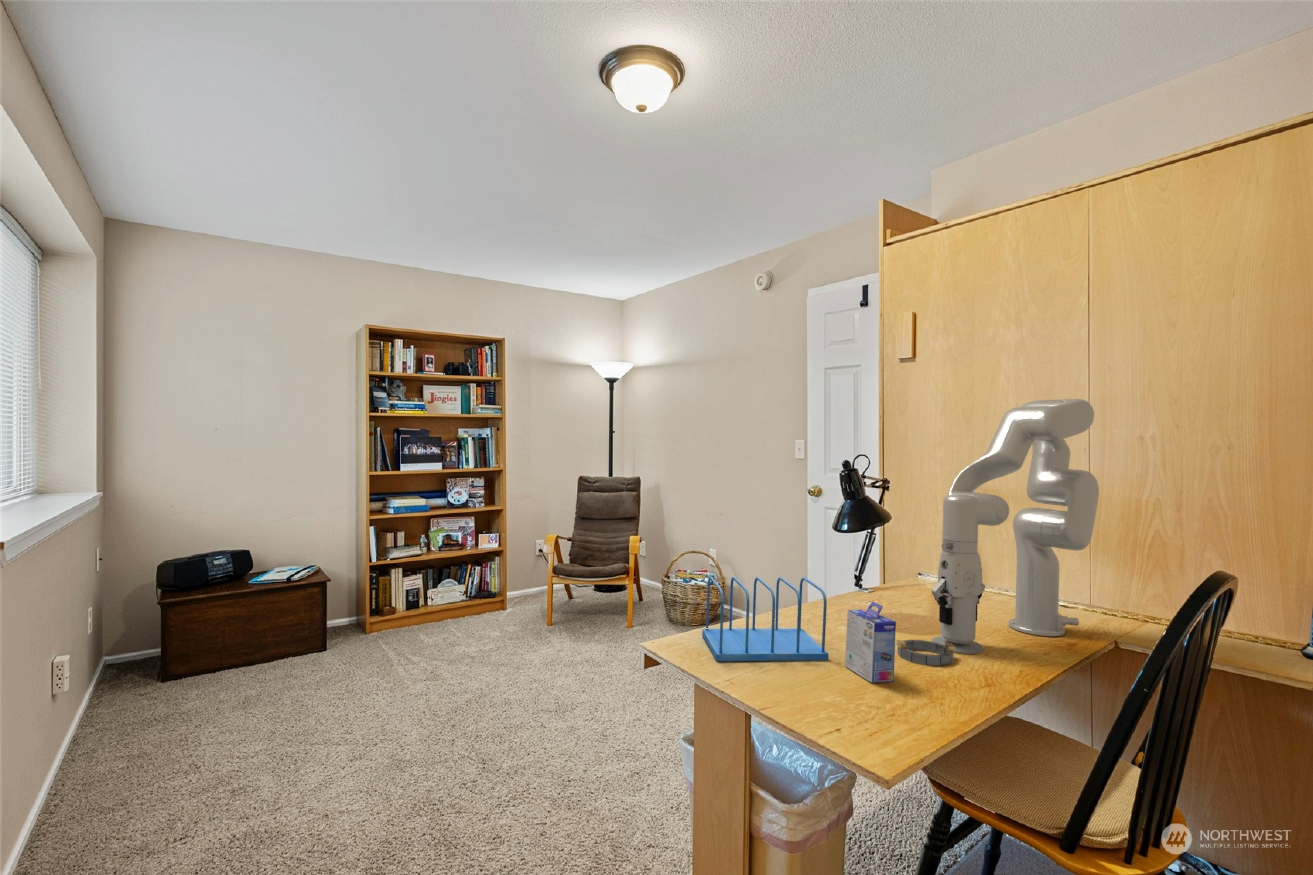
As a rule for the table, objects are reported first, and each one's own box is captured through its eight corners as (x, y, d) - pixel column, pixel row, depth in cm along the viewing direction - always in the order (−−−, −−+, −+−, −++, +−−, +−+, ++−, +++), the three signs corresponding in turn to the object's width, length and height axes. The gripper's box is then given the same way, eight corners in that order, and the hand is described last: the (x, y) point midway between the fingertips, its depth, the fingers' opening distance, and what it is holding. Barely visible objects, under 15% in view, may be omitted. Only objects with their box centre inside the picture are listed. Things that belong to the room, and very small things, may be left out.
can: (981, 645, 144) (982, 593, 144) (949, 644, 144) (950, 592, 144) (965, 634, 151) (966, 585, 151) (934, 634, 151) (935, 584, 151)
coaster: (972, 640, 152) (972, 637, 152) (991, 655, 141) (991, 653, 141) (925, 637, 153) (925, 635, 153) (940, 652, 142) (940, 650, 142)
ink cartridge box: (896, 682, 124) (897, 609, 124) (872, 684, 123) (874, 611, 123) (866, 664, 134) (867, 597, 134) (843, 666, 132) (845, 598, 132)
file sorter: (716, 663, 133) (718, 591, 133) (701, 637, 150) (703, 573, 150) (829, 661, 136) (830, 591, 136) (802, 635, 153) (803, 573, 153)
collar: (944, 649, 144) (944, 637, 144) (962, 667, 133) (962, 653, 133) (891, 646, 146) (891, 634, 146) (904, 663, 135) (905, 650, 135)
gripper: (945, 552, 140) (944, 630, 140) (999, 547, 147) (998, 622, 147) (919, 546, 147) (918, 621, 147) (972, 542, 154) (970, 613, 154)
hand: (958, 621), depth 147 cm, fingers closed on can, 7 cm apart
